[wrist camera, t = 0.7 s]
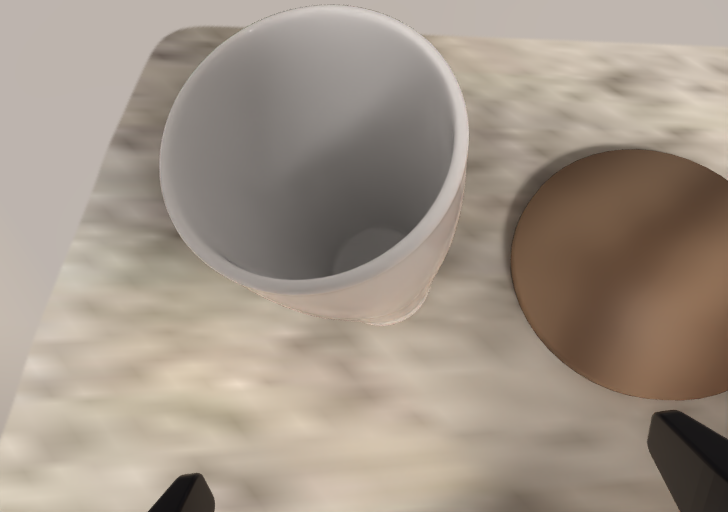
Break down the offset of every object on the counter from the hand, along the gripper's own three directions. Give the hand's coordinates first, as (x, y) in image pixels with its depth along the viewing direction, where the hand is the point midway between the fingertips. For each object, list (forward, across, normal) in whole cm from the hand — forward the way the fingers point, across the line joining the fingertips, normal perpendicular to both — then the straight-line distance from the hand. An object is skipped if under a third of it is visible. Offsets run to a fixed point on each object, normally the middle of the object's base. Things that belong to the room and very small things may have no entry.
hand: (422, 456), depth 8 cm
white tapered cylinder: (+14, 0, +4) cm, 15 cm away
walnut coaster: (+14, -13, +5) cm, 19 cm away
